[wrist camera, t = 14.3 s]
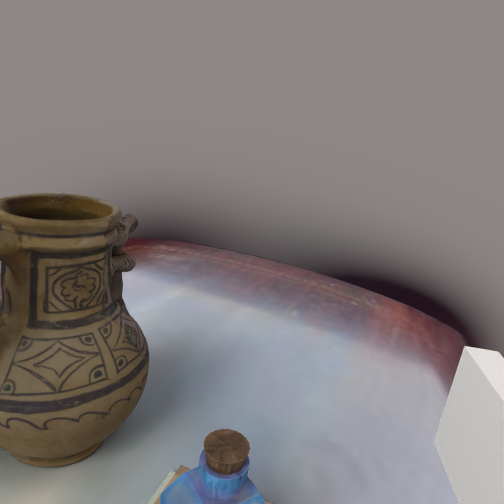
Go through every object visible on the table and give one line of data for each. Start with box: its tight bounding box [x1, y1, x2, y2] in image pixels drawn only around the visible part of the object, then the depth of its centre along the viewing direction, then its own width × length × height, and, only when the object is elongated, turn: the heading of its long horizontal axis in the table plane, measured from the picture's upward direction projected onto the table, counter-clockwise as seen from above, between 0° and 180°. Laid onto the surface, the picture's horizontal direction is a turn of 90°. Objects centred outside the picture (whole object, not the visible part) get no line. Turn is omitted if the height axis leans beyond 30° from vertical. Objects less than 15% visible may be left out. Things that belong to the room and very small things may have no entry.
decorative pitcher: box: [0, 193, 149, 467], centre depth 43 cm, size 22×18×25 cm
